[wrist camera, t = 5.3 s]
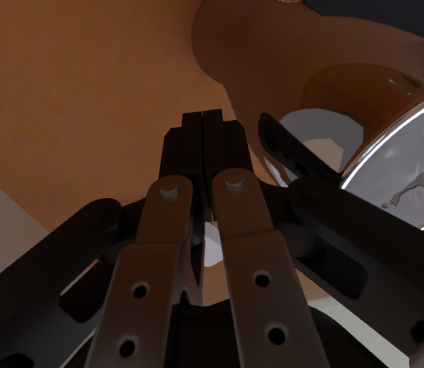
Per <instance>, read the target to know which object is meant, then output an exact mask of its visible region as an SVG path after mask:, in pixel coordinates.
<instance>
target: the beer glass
mask: <svg viewBox="0 0 424 368" xmlns="http://www.w3.org/2000/svg"><path fill="white" fill-rule="evenodd" d="M191 42H192V49H193V53H194V57H195V59H196V61H197V63H198V65H199V67H200V68H201V69H202V70H203V72H204V73H205V74H206V75H208V76H209V77H210V78H212V79H213V80H215V81H216V82H218V83H220V84H222V85H223V86H224V88H225V90H226V92H227V95H228V98H229V100H230V103H231V106H232V108H233V111H234V114H235V116H236V119H237V121H238V122H240V123H241V124H242V125H243V126H244V129H245V134H246V139H247V142H248V144H249V146H250V148H251V149H252V151H253V152H254V154H255V156H256V157H257V159H258V160H259V162H260V163H261V165H262V166H263V168H264V169H265V170H266V172H267V173H268V174H269V176H270V177H271V178H272V179H273V181H274V182H275V183H276V185H277V186H281V187H288V186H289V184H290V183H291V182H292V181H294V180H295V179H297V178H300V177H305V176H315V177H320V178H323V179H326V180H328V181H330V182H332V183H333V184H335V185H337V186H339V187H341V188H343V189H345V190H347V191H349V192H350V193H352V194H354V195H356V196H358V197H360V198H362V199H364V200H366V201H368V202H369V203H371V204H373V205H375V206H377V207H379V208H381V209H383V210H385V211H387V212H388V213H390V214H392V215H394V216H396V217H398V218H400V219H402V220H404V221H406V222H407V223H409V224H411V225H413V226H415V227H417V228H419V229H421V230H424V28H423V27H420V26H417V25H415V24H412V23H409V22H407V21H404V20H401V19H399V18H396V17H393V16H390V15H386V14H383V13H379V12H375V11H371V10H368V9H364V8H360V7H353V6H345V5H336V4H327V3H285V2H280V1H279V0H204V1H203V2H202V4H201V5H200V7H199V9H198V11H197V13H196V16H195V19H194V22H193V26H192V34H191Z"/></svg>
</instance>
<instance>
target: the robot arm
mask: <svg viewBox="0 0 424 368" xmlns="http://www.w3.org/2000/svg"><path fill="white" fill-rule="evenodd" d="M211 210H212V215H213V221H217V223H218V229H219V235H220V242H221V248H222V254H223V261H224V267H225V273H226V279H227V285H228V291H229V298H230V299H227V300H224V301H221V302H219V303H216V304H213V305H210V306H205V307H204V306H203V297H202V289H203V273H204V257H205V223H206V222H212V215H211ZM96 259H97V260H98V262H97V263H96V264H95V265H94V266H93V267H92V268H91V269H90V270H89V271H88V272H87V273H86V274H84V275H83V277H81V278H80V279H79V280H78V281H77V282H76V283H75V284H74V285H73V286H72V287H71V288H70V289H69V290H68V291H67V292H65V293H64V294H63V295H61V296H60V294H61V293H62V291H63V290H64V289H65V288H66V287H67V286H68V285H69V284H70V283H71V282H72V281H73V280H74V279H76V277H78V276H79V275H80V274H81V273H82V272H83V271H84V270H85V269H86V268H87V267H88V266H89V265H91V264H92V263H93V262H94V261H95V260H96ZM295 268H296V269H298V270H299V271H300V272H302V273H303V274H304V275H305V276H307V277H308V278H309V279H310V280H312V281H313V282H314V283H315V284H317V285H318V286H319V287H320V288H322V289H323V290H324V291H326V292H327V293H328V294H329V295H331V296H332V297H333V298H334V299H336V300H337V301H338V302H339V303H341V304H342V305H343V306H344V307H346V308H347V309H349V310H350V311H351V312H352V313H353V314H355V315H356V316H357V317H358V318H360V319H361V320H362V321H363V322H365V323H366V324H367V325H369V326H370V327H371V328H372V329H374V330H375V331H376V332H377V333H379V334H380V335H381V336H382V337H384V338H385V339H386V340H387V341H389V342H390V343H391V344H393V345H394V346H395V347H396V348H398V349H399V350H400V351H401V352H403V353H404V354H405V355H406V356H408V357H409V366H410V368H424V231H423V230H421V229H419V228H417V227H415V226H413V225H411V224H409V223H407V222H406V221H404V220H402V219H400V218H398V217H396V216H394V215H392V214H390V213H388V212H387V211H385V210H383V209H381V208H379V207H377V206H375V205H373V204H371V203H369V202H368V201H366V200H364V199H362V198H360V197H358V196H356V195H354V194H352V193H350V192H349V191H347V190H345V189H343V188H341V187H339V186H337V185H335V184H333V183H332V182H330V181H328V180H326V179H323V178H320V177H315V176H305V177H300V178H297V179H295V180H294V181H292V182H291V183H290V184H289V186H288V187H281V186H275V185H270V184H267V183H265V182H263V181H261V180H260V179H259V178H258V177H257V176H256V175H255V173H254V171H253V167H252V162H251V157H250V153H249V148H248V144H247V139H246V134H245V129H244V126H243V125H242V124H241V123H240V122H238V121H237V120H232V121H224V122H223V116H222V109H214V110H206V111H203V115H202V111H199V112H191V113H183V115H182V127H176V128H171V129H170V130H169V131H168V133H167V134H166V135H165V136H164V143H163V150H162V157H161V164H160V171H159V178H158V180H156V181H155V182H154V183H153V184H152V185H151V186H150V188H149V190H148V193H147V196H146V197H145V198H143V199H141V200H139V201H137V202H134V203H131V204H128V205H126V206H123V207H122V206H121V204H120V203H119V202H118V201H117V200H115V199H111V198H102V199H98V200H95V201H93V202H90V203H89V204H87V205H86V206H84V207H83V208H82V209H80V210H79V211H78V212H77V213H75V214H74V215H73V216H72V217H70V218H69V219H68V220H66V221H65V222H64V223H63V224H61V225H60V226H59V227H58V228H56V229H55V230H54V231H53V232H51V233H50V234H49V235H48V236H46V237H45V238H44V239H43V240H41V241H40V242H39V243H38V244H36V245H35V246H34V247H33V248H31V249H30V250H29V251H27V252H26V253H25V254H24V255H22V256H21V257H20V258H19V259H17V260H16V261H15V262H14V263H13V264H11V265H10V266H9V267H7V268H6V269H5V270H4V271H2V272H1V273H0V368H59V367H60V366H61V365H62V364H63V363H64V361H65V360H66V359H67V358H68V357H69V356H70V355H71V354H72V353H73V352H74V350H75V349H76V348H77V347H78V346H79V345H80V344H81V343H82V342H83V341H84V339H85V338H86V337H87V336H88V335H89V334H90V333H91V332H92V331H93V330H94V329H95V327H96V330H95V333H94V335H93V336H92V337H91V338H90V339H89V340H88V341H87V342H86V343H85V344H84V345H83V346H82V347H81V348H80V349H79V350H78V352H77V353H76V354H75V355H74V356H73V358H72V359H71V360H70V361H69V362H68V363H67V364H66V366H65V367H64V368H388V367H387V366H386V365H385V364H384V363H383V362H382V361H381V360H379V359H378V358H377V357H376V356H375V355H374V354H373V353H372V352H370V351H369V350H368V349H367V348H366V347H365V346H364V345H363V344H361V343H360V342H359V341H358V340H357V339H356V338H354V336H352V335H351V334H350V333H349V332H348V331H347V330H346V329H345V328H343V327H342V326H341V325H340V324H339V323H338V322H336V321H335V320H334V319H332V318H331V317H329V316H328V315H326V314H325V313H323V312H321V311H319V310H318V309H316V308H313V307H311V306H309V305H308V303H307V301H306V298H305V295H304V292H303V289H302V287H301V284H300V281H299V278H298V276H297V273H296V270H295Z"/></svg>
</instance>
